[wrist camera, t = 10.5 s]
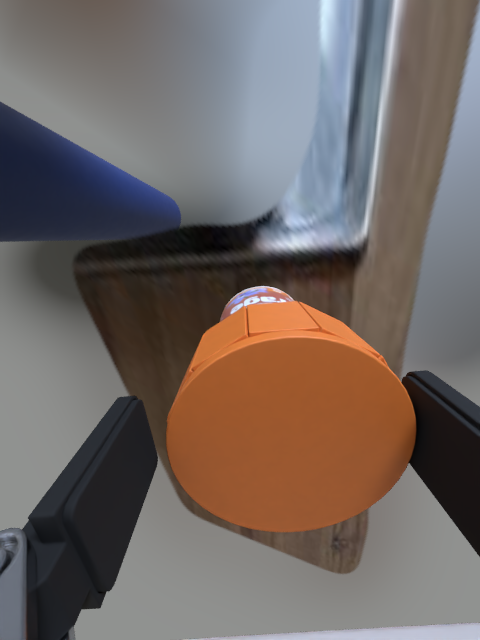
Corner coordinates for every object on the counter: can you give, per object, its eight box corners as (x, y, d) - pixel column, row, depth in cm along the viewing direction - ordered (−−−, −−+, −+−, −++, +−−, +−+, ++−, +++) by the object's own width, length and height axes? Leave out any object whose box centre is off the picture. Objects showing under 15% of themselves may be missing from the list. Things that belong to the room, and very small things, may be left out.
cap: (164, 419, 12) (133, 492, 8) (233, 269, 9) (227, 287, 6) (306, 472, 13) (329, 556, 9) (399, 349, 10) (474, 402, 7)
